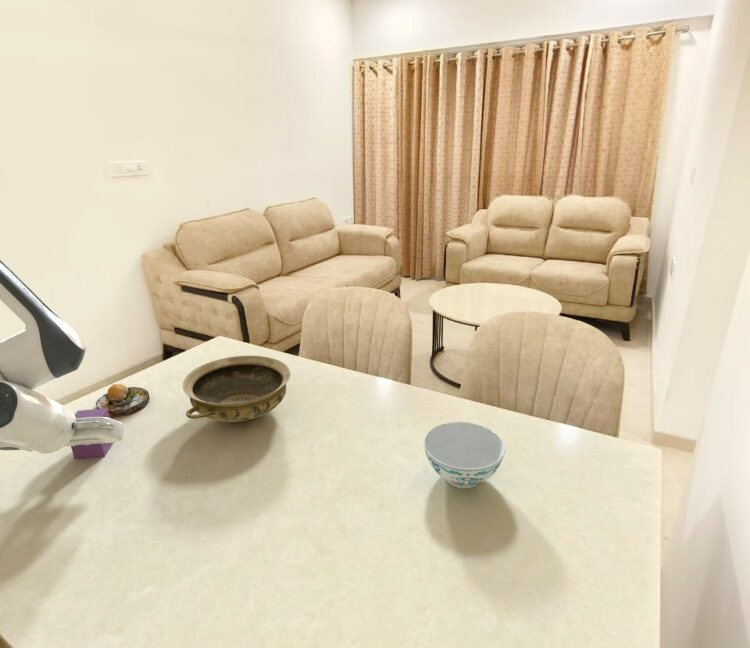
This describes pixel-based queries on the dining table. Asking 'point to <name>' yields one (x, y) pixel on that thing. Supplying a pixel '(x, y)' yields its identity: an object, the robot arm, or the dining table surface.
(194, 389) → the ceramic bowl
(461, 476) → the chinaware
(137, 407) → the dark lid with knob
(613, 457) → the dining table surface
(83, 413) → the block
